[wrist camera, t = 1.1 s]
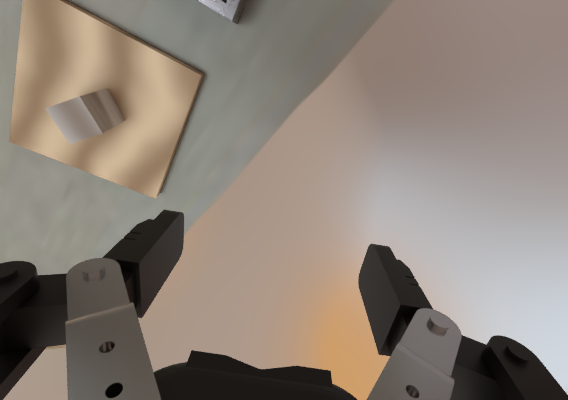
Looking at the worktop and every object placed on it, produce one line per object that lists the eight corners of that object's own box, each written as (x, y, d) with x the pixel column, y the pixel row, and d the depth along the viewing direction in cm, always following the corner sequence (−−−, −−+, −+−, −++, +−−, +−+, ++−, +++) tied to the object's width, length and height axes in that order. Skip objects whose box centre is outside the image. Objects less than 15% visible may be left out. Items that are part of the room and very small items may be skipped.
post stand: (19, 137, 33) (-33, 157, 27) (36, -16, 26) (-27, -32, 20) (159, 193, 37) (140, 220, 31) (204, 74, 30) (190, 81, 25)
